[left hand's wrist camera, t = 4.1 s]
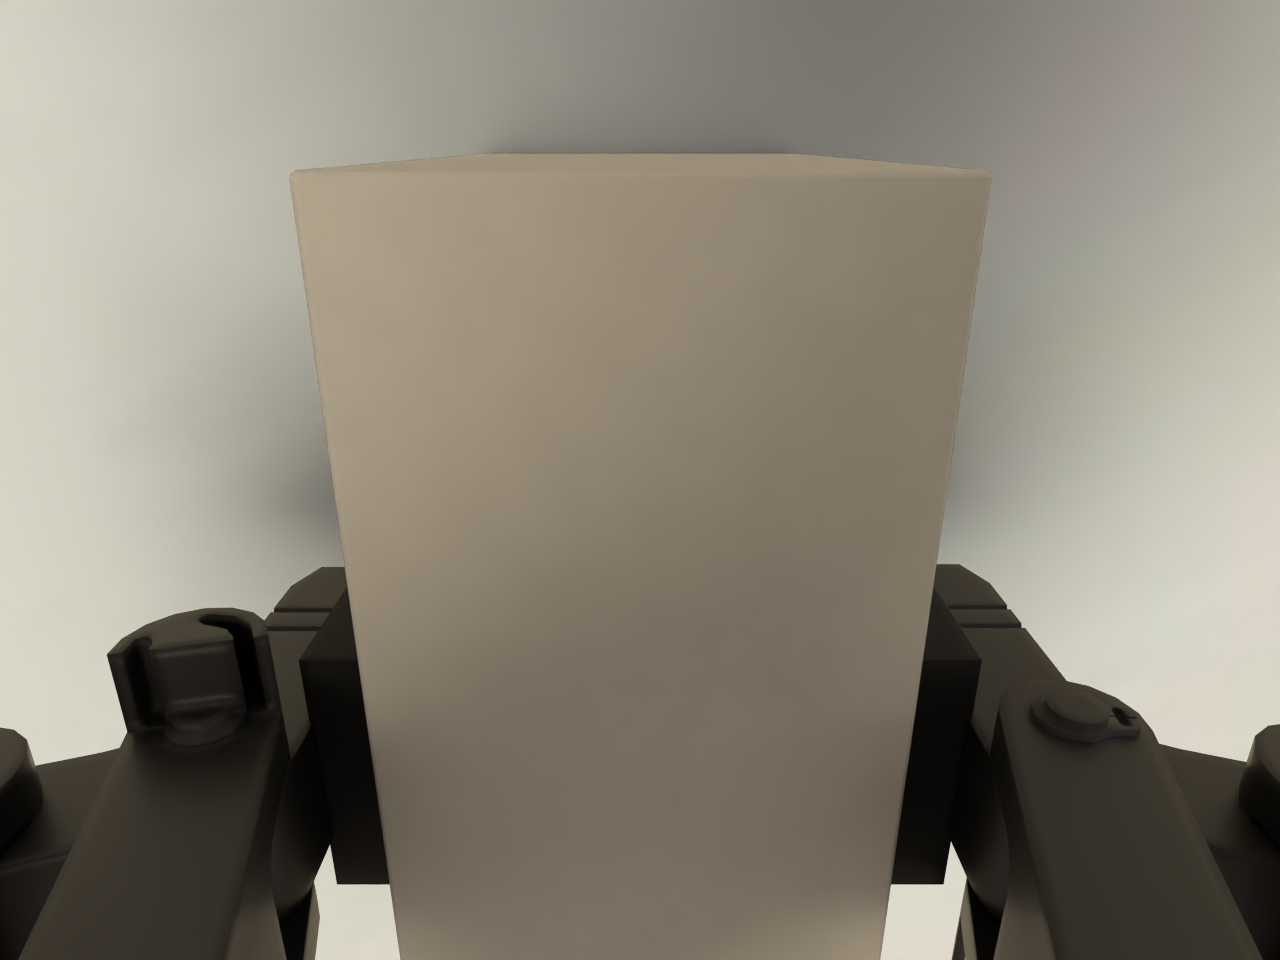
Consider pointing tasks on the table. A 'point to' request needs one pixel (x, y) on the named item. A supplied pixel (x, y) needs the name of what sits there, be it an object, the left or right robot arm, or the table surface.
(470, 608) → the beam
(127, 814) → the left robot arm
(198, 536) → the table surface
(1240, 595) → the table surface
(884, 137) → the table surface
